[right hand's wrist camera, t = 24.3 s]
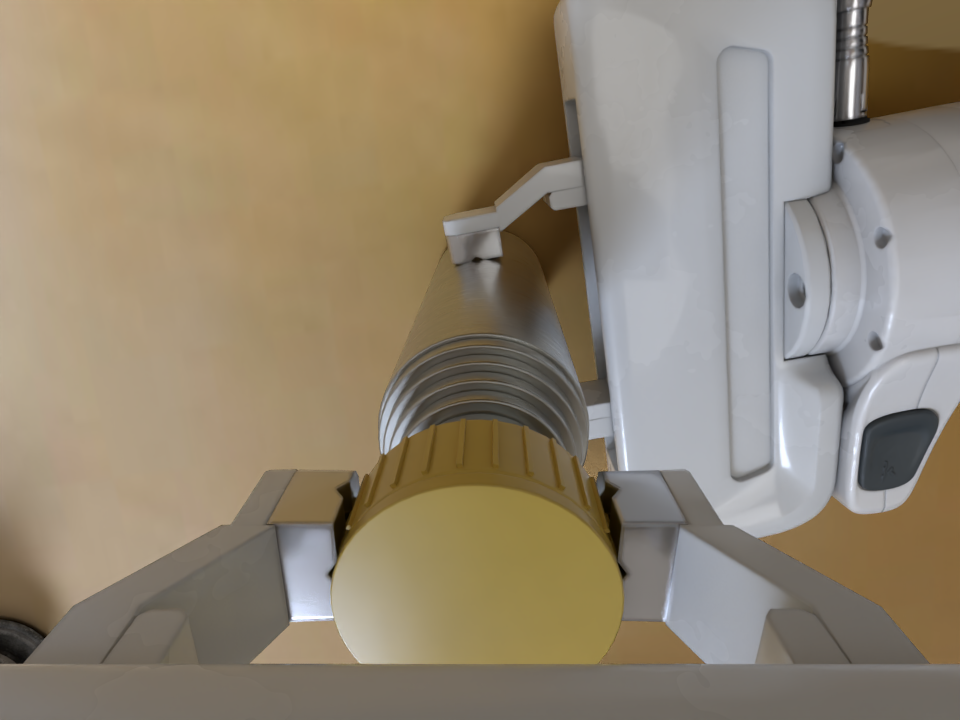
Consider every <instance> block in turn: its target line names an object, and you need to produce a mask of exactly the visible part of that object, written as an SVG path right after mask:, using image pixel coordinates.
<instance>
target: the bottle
mask: <svg viewBox="0 0 960 720" xmlns="http://www.w3.org/2000/svg"><path fill="white" fill-rule="evenodd" d="M499 232H500V239H501V245H502V252H503V256H501V257H496V258H491V259H485V260H483V259H481V258H479V257H475V258H474V259H473V260H472V261H471V262H467V263H463V264H452V263H451V259H450V254H449V250H448V248H447V249H446V251H445V252H444V254H443V255H442V257H441V259H440V261H439V263H438V266H437V268H436V271H435V273H434V275H433V278H432V280H431V283H430V285H429V287H428V290H427V292H426V295H425V297H424V300H423V302H422V304H421V307H420V309H419V312H418V314H417V316H416V319H415V321H414V324H413V326H412V328H411V331H410V333H409V336H408V338H407V340H406V343H405V345H404V348H403V350H402V352H401V355H400V357H399V360H398V362H397V364H396V367H395V369H394V372H393V374H392V376H391V379H390V381H389V384H388V386H387V388H386V391H385V394H384V396H383V399H382V402H381V406H380V412H379V421H378V430H379V436H378V439H379V449H380V453H381V455H382V454H383V453H384V454H385V455H386V454H387V453H388V452H389V451H390V450H391V449H393V448H394V447H395V446H397V445H398V444H399V443H400V442H402V439H403V438H404V437H406V436H407V437H408V438H409V437H411V436H412V435H414V434H416V433H418V432H421V431H423V430H426V429H428V428H430V425H434V424H435V426H437V425H441V424H444V423H449V422H455V421H461V419H466V420H493V419H498V421H501V422H506V423H511V424H516V425H519V426H522V427H523V426H524V425H525V426H528V427H529V429H531V430H533V431H535V432H537V433H540V434H542V435H544V436H546V437H548V438H549V439H551V438H554V439H555V440H556V442H557V444H559V445H560V446H562V447H563V448H564V449H565V450H566V451H567V452H569V453H570V454H571V455H572V456H573V457H574V456H575V455H576V456H577V457H578V458H579V461H580V464H581V466H582V467H583V465H584V462H585V459H586V455H587V450H588V439H589V415H588V410H587V406H586V402H585V398H584V395H583V392H582V389H581V386H580V383H579V380H578V377H577V374H576V371H575V368H574V365H573V362H572V359H571V356H570V353H569V350H568V347H567V344H566V341H565V338H564V335H563V332H562V329H561V325H560V322H559V319H558V316H557V313H556V310H555V307H554V304H553V301H552V298H551V295H550V292H549V289H548V286H547V283H546V280H545V277H544V274H543V271H542V268H541V265H540V262H539V260H538V258H537V256H536V254H535V253H534V251H533V250H532V249H531V248H530V246H529V245H528V244H527V243H525V242H524V241H523V240H522V239H520V238H519V237H517V236H515V235H513V234H511V233H509V232H506V231H500V230H499Z"/></svg>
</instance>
